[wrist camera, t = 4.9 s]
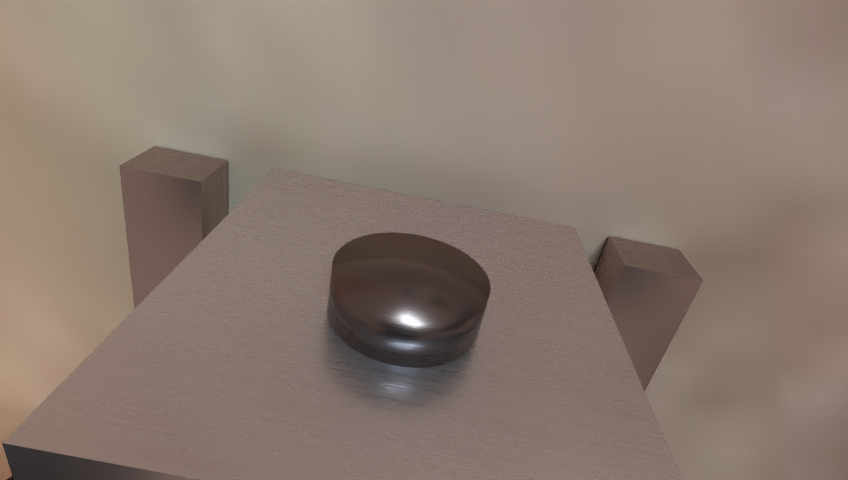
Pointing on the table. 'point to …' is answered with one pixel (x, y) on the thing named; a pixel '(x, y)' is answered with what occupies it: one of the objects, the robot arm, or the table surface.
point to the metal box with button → (357, 355)
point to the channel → (208, 205)
